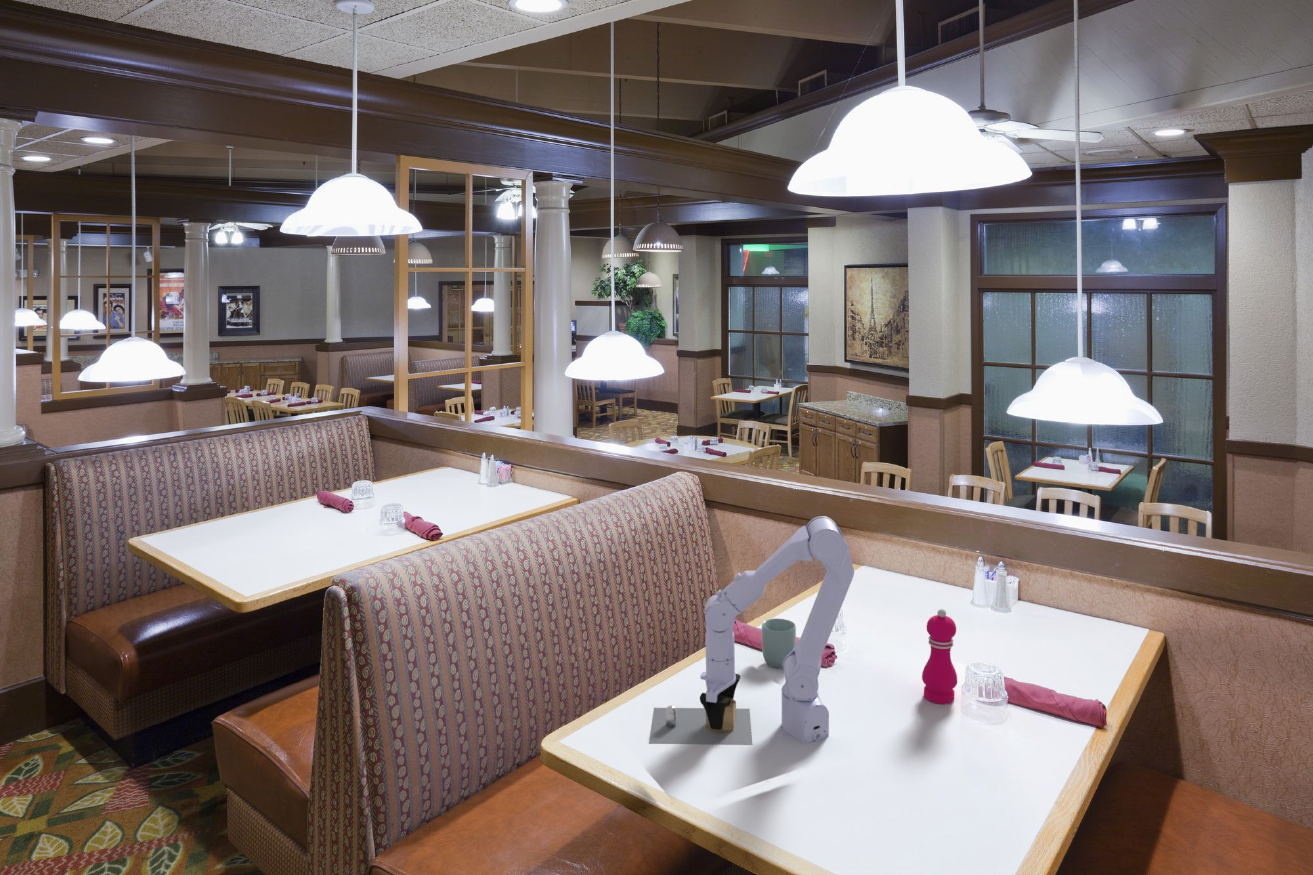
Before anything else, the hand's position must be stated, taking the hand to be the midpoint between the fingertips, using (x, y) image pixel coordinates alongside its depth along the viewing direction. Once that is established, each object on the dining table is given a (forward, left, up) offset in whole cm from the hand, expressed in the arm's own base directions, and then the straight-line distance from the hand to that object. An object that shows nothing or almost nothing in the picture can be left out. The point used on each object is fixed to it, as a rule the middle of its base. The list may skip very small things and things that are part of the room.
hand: (721, 718), depth 169 cm
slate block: (+2, +4, -3) cm, 5 cm away
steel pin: (+5, +9, -1) cm, 10 cm away
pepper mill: (-10, -48, -3) cm, 50 cm away
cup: (+20, -28, -3) cm, 34 cm away
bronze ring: (0, 0, -1) cm, 1 cm away
